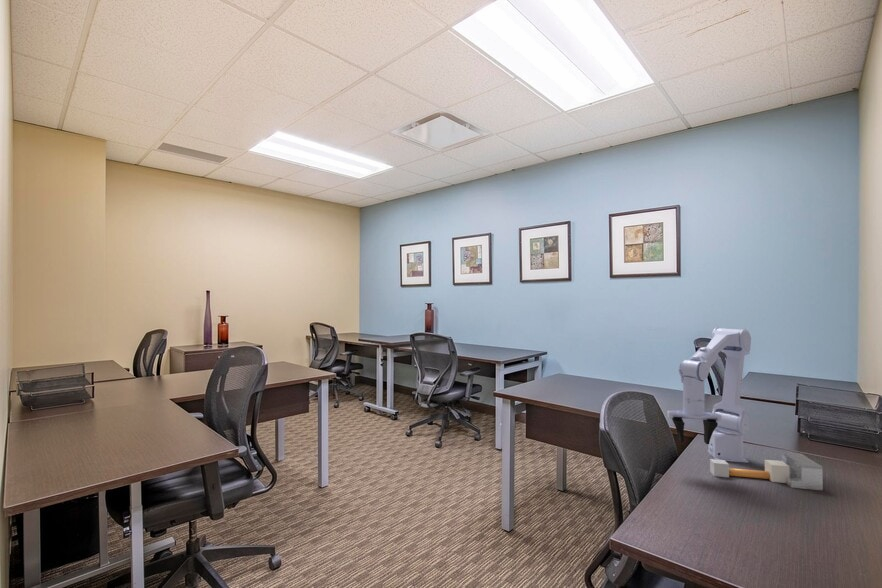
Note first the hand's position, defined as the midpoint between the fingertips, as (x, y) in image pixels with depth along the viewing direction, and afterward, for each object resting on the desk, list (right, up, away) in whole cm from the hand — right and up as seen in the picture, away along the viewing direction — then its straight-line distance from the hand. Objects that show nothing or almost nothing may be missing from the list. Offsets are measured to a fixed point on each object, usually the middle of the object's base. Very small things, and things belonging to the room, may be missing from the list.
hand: (693, 442), depth 129 cm
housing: (+26, -9, -6) cm, 29 cm away
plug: (+14, -9, -4) cm, 17 cm away
